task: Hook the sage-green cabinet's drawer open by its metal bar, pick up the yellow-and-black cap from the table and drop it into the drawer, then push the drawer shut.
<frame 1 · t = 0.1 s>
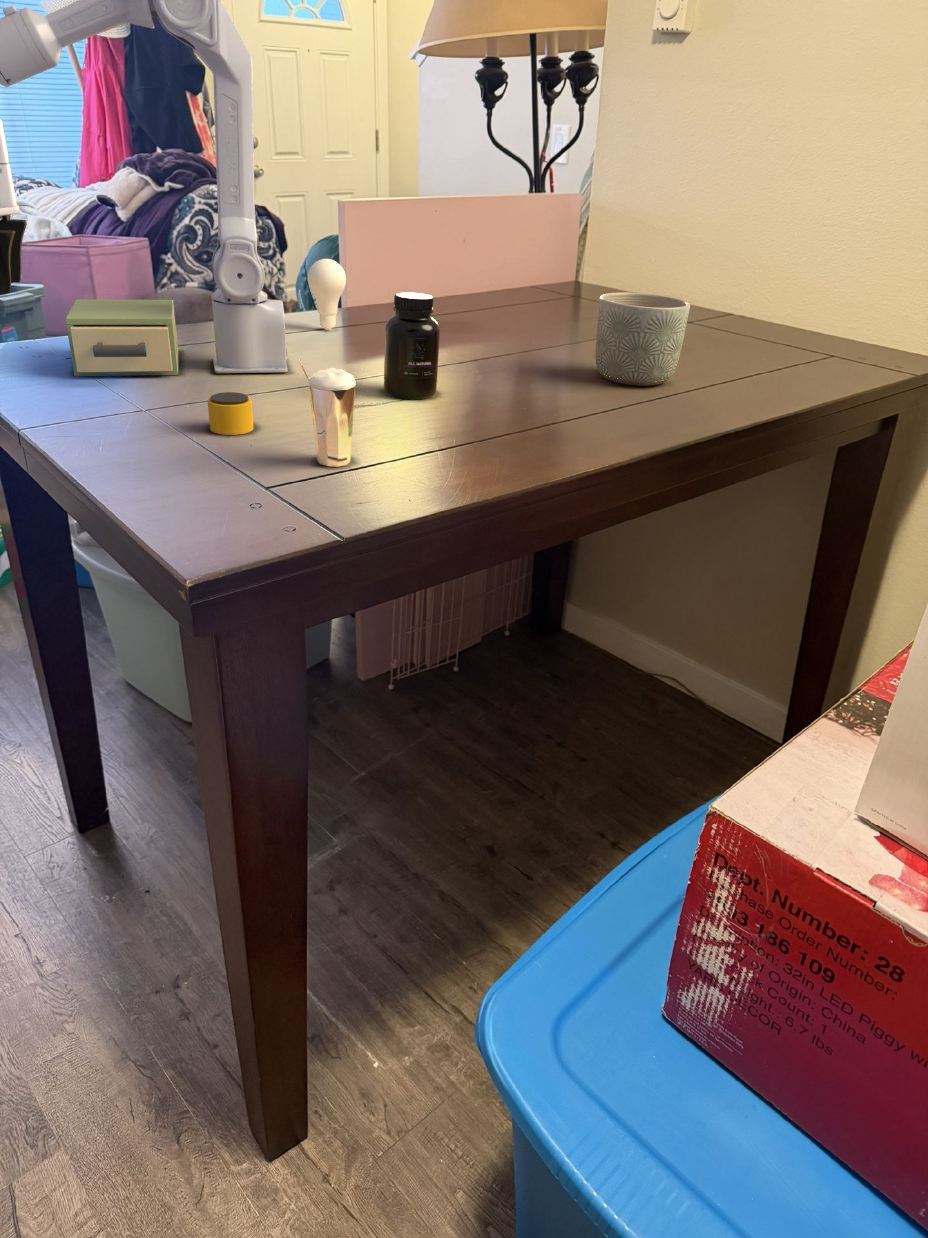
hand: (6, 286, 107), 10 cm above the table, tool pointing down, fingers open, 7 cm apart
supplement bottle: (410, 394, 112), on the table
lightbulb: (328, 331, 144), on the table
cap: (231, 428, 95), on the table
planter: (633, 380, 125), on the table
drawer: (124, 343, 113), point 4 cm above the table, slide at 0.5 cm
cabinet: (129, 363, 118), on the table
milkshake: (329, 463, 88), on the table
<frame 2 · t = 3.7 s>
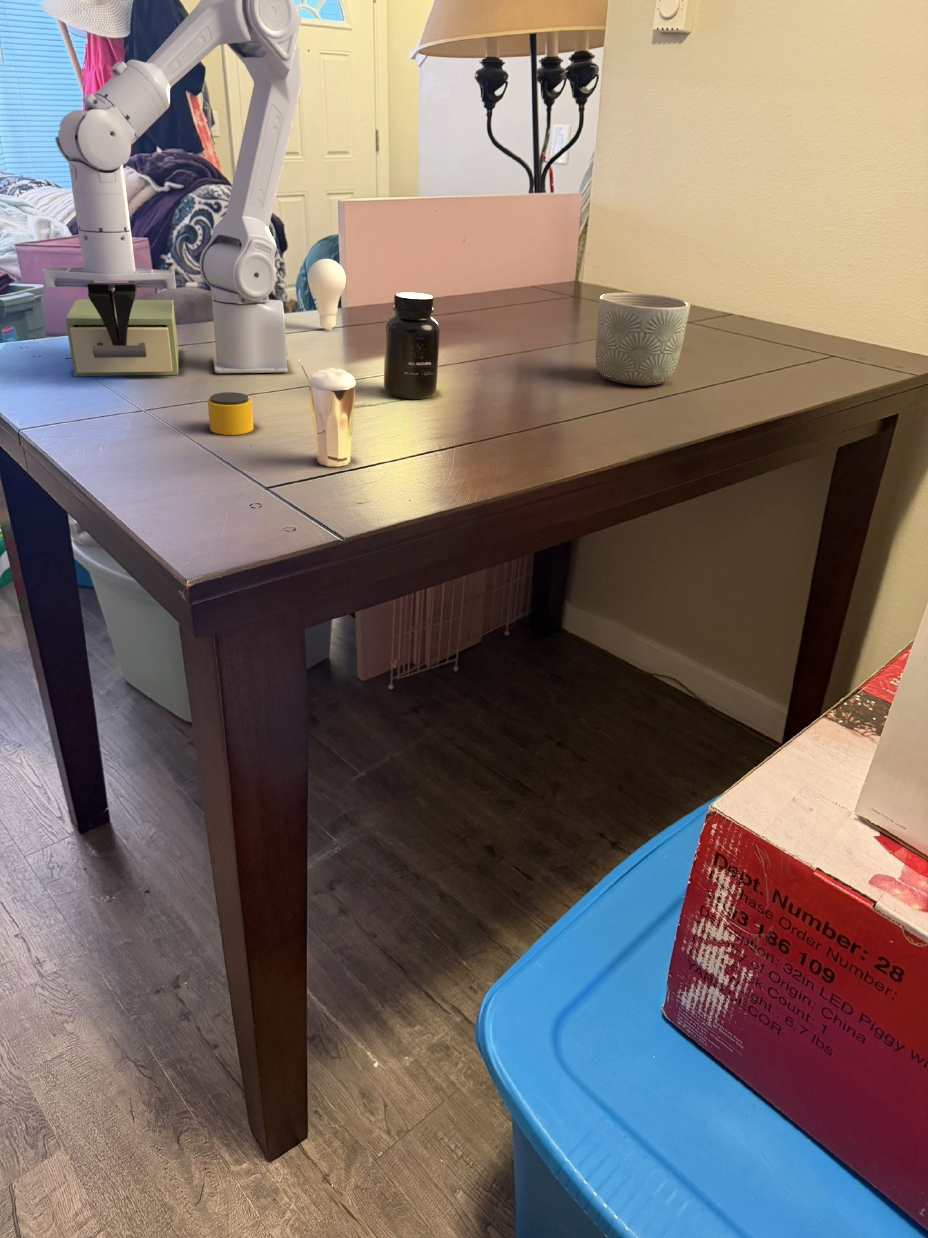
hand: (120, 349, 107), 4 cm above the table, tool pointing down, fingers closed, pressing on drawer
drawer: (124, 343, 112), point 4 cm above the table, slide at 0.8 cm, touching gripper
everything else where it was.
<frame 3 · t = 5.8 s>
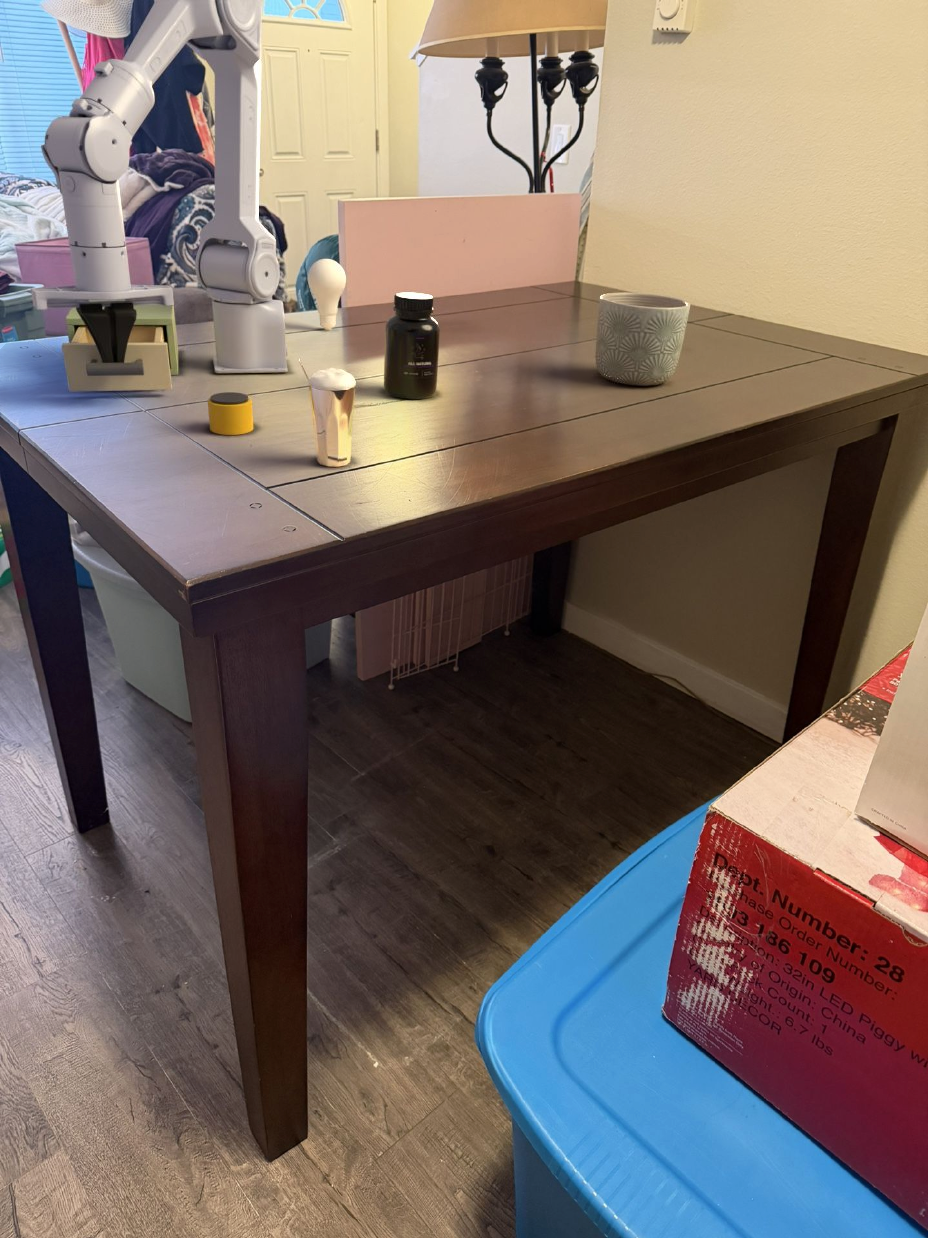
hand: (114, 372, 100), 3 cm above the table, tool pointing down, fingers closed, pressing on drawer
drawer: (120, 359, 105), point 4 cm above the table, slide at 9.7 cm, touching gripper
everything else where it was.
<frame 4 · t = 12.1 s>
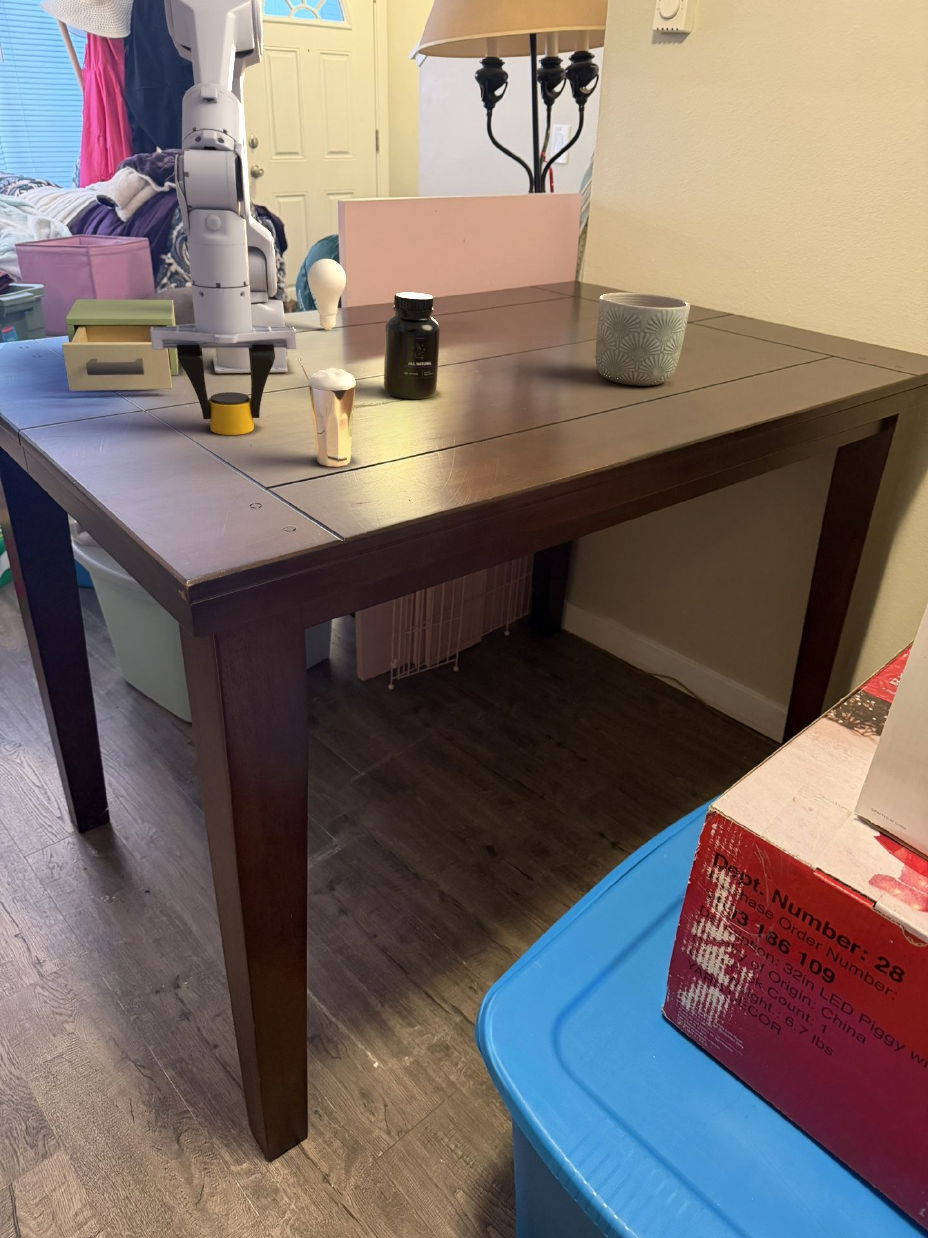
hand: (230, 416, 95), 1 cm above the table, tool pointing down, fingers closed on cap, 4 cm apart
cap: (232, 428, 95), on the table, touching gripper
drawer: (120, 359, 105), point 4 cm above the table, slide at 9.4 cm
everything else where it was.
when the fingers open (5 cm above the table, at t = 18.7 s): cap stays where it is, resting on drawer.
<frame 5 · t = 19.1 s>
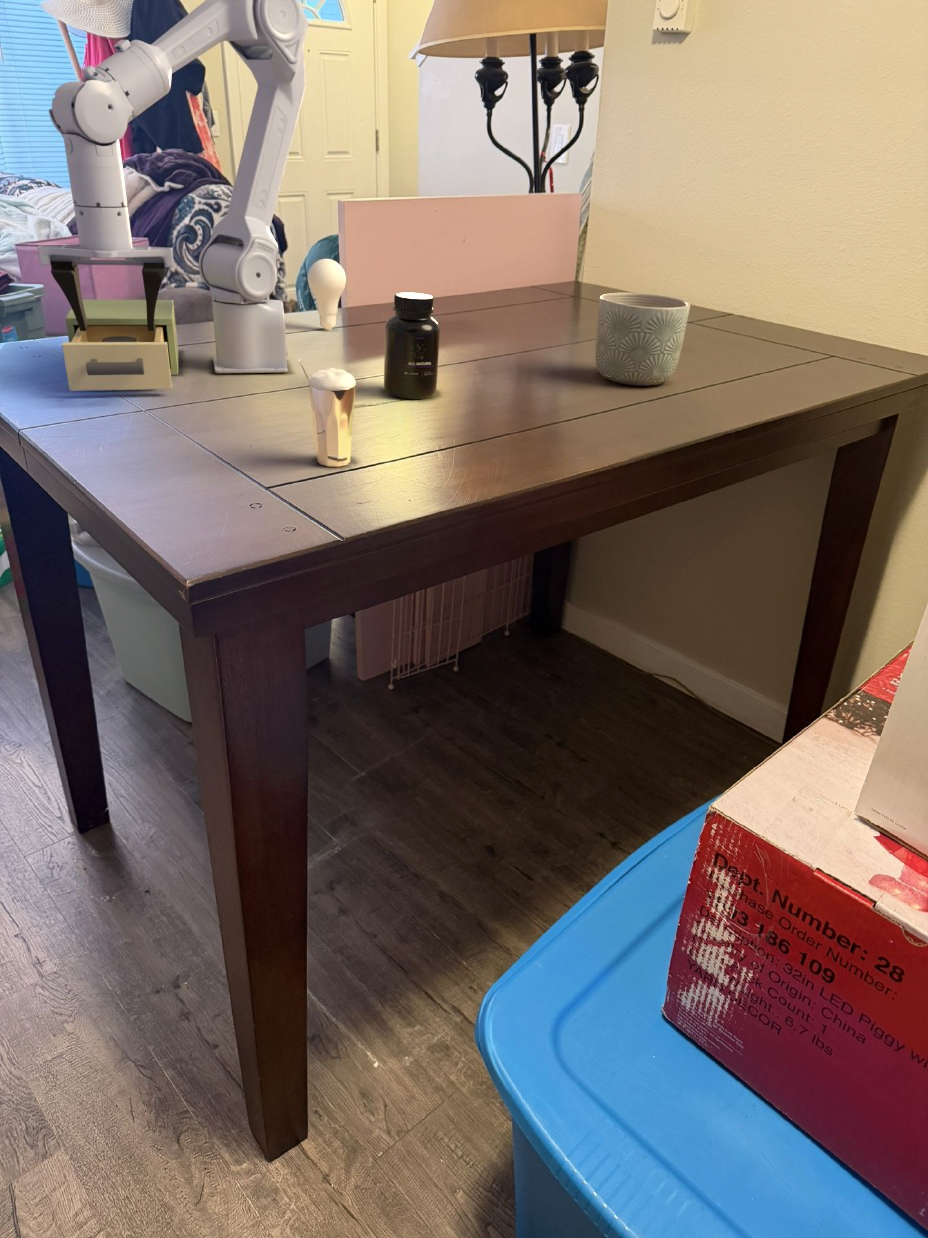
hand: (117, 329, 105), 7 cm above the table, tool pointing down, fingers open, 7 cm apart
cap: (123, 368, 107), point 2 cm above the table, touching drawer
drawer: (120, 359, 105), point 4 cm above the table, slide at 9.4 cm, touching cap
everything else where it was.
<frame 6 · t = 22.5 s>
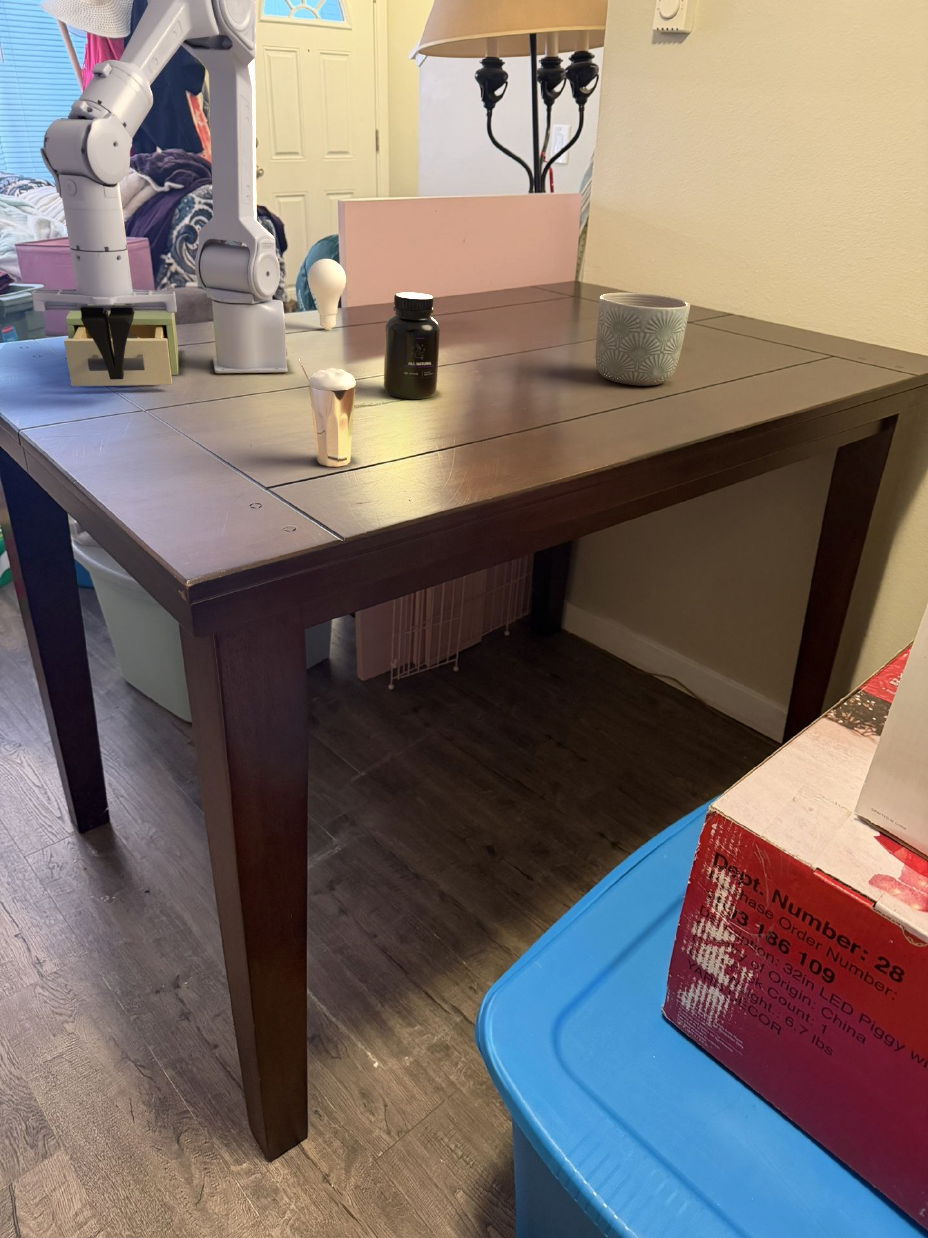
hand: (117, 377, 99), 3 cm above the table, tool pointing down, fingers closed, pressing on drawer
cap: (124, 364, 109), point 2 cm above the table, touching drawer
drawer: (121, 355, 107), point 4 cm above the table, slide at 7.3 cm, touching cap, gripper
everything else where it was.
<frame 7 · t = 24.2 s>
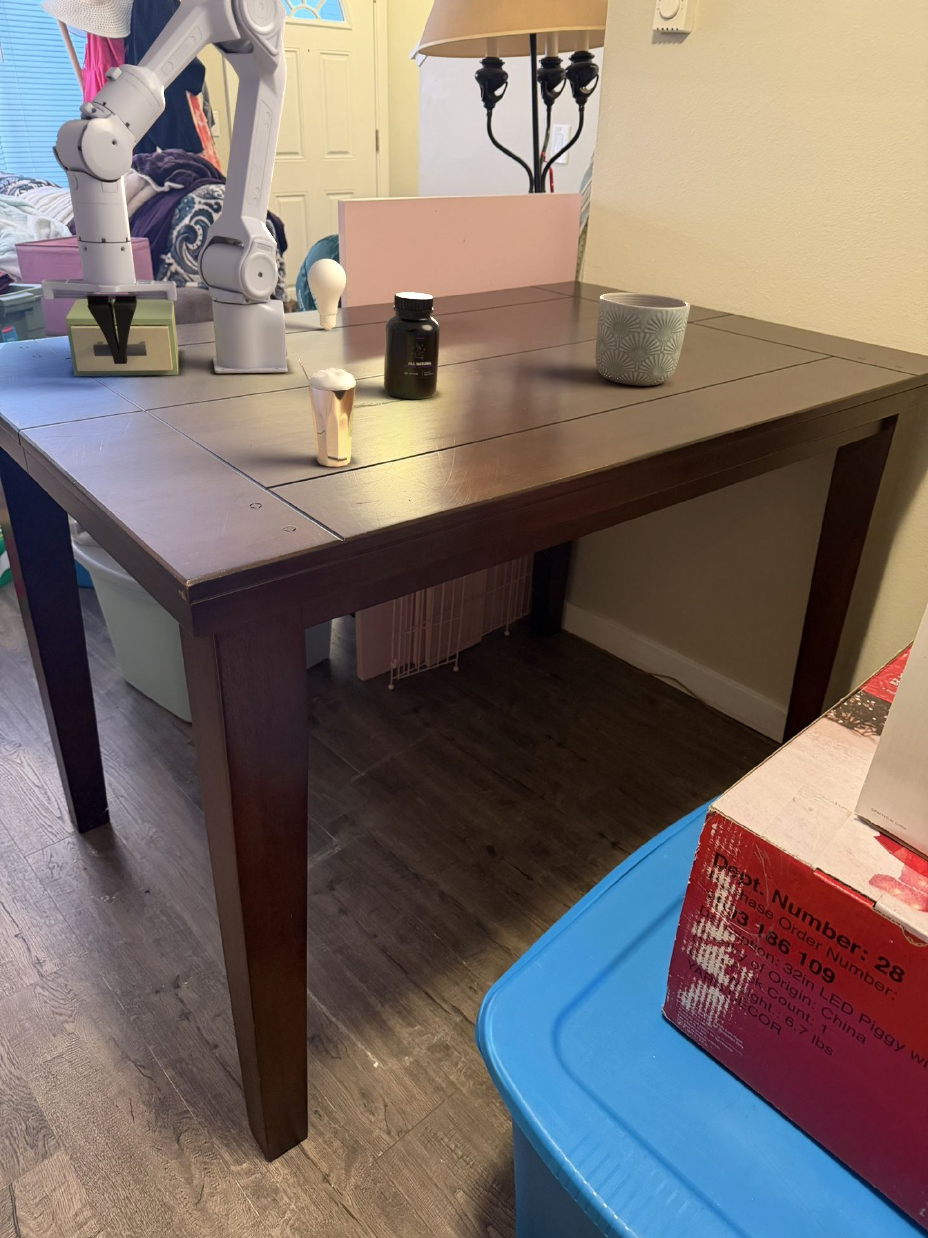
hand: (120, 362, 105), 3 cm above the table, tool pointing down, fingers closed, pressing on drawer
cap: (127, 351, 115), point 2 cm above the table, touching drawer
drawer: (124, 342, 113), point 4 cm above the table, slide at 0.0 cm, touching cabinet, cap, gripper
everything else where it was.
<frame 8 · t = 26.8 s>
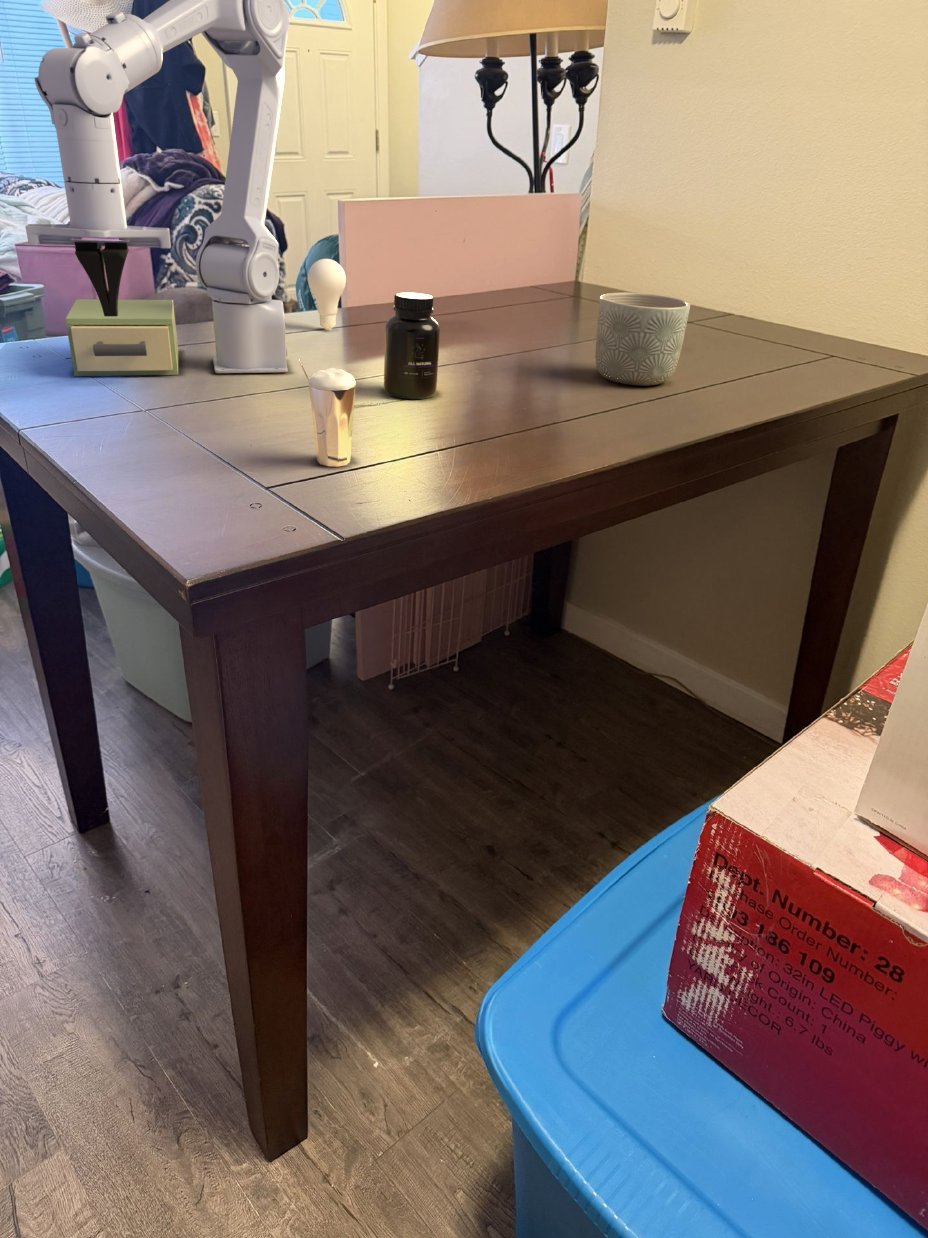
hand: (111, 314, 99), 9 cm above the table, tool pointing down, fingers closed
drawer: (124, 342, 113), point 4 cm above the table, slide at 0.0 cm, touching cap
everything else where it was.
at the end: drawer pulled out 9.7 cm at the most during the clip, back to where it started at the end; cap inside the target area in the cabinet (2.2 cm from its centre), point 2.0 cm above the cabinet's base; drawer slide at 0.0 cm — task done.
